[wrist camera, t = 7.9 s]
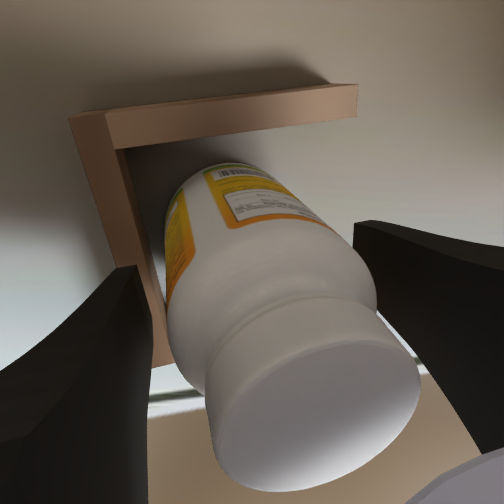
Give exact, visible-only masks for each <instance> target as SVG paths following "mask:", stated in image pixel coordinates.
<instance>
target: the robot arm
mask: <svg viewBox="0 0 504 504" xmlns="http://www.w3.org/2000/svg"><path fill="white" fill-rule="evenodd" d="M353 249H354V250H355V251H356V252H357V253H358V254H359V255H360V257H361V258H362V259H363V261H364V262H365V264H366V266H367V267H368V269H369V271H370V273H371V276H372V278H373V282H374V285H375V289H376V297H377V310H378V311H379V313H380V314H381V315H382V316H383V317H384V318H385V319H386V320H387V321H388V322H389V324H390V325H391V326H392V327H393V328H394V329H395V330H396V331H397V332H398V334H399V335H400V336H401V337H402V338H403V339H404V340H405V341H406V342H407V344H408V345H409V346H410V347H411V348H412V350H413V351H414V352H415V353H416V355H417V356H418V357H419V359H420V360H421V362H422V363H423V364H424V366H425V367H426V368H427V370H428V371H429V373H430V374H431V375H432V377H433V378H434V380H435V381H436V382H437V384H438V386H439V387H440V388H441V390H442V391H443V393H444V394H445V396H446V397H447V399H448V400H449V402H450V403H451V405H452V406H453V408H454V409H455V411H456V412H457V414H458V416H459V417H460V419H461V421H462V422H463V424H464V426H465V427H466V428H467V430H468V432H469V433H470V435H471V437H472V438H473V440H474V442H475V443H476V445H477V447H478V449H479V450H480V452H481V454H482V455H480V456H478V457H476V458H474V459H472V460H470V461H468V462H466V463H464V464H462V465H459V466H457V467H455V468H453V469H451V470H449V471H447V472H445V473H443V474H441V475H439V476H438V477H437V478H435V479H434V480H433V481H432V482H431V483H429V484H428V485H427V486H426V487H424V488H423V489H422V490H421V491H419V492H418V493H417V494H416V495H415V496H413V497H412V498H411V499H410V500H408V501H407V502H406V504H504V247H499V246H493V245H486V244H480V243H474V242H469V241H464V240H459V239H454V238H450V237H445V236H441V235H437V234H432V233H428V232H424V231H420V230H416V229H412V228H408V227H404V226H400V225H396V224H392V223H387V222H382V221H376V220H368V221H363V222H357V223H354V233H353ZM153 346H154V342H153V321H152V314H151V311H150V308H149V304H148V301H147V297H146V294H145V291H144V287H143V284H142V280H141V277H140V274H139V270H138V267H137V264H135V265H130V266H125V267H120V268H116V269H115V270H114V271H113V272H112V273H111V274H110V275H109V276H108V277H107V278H106V279H105V280H104V281H103V282H102V283H101V284H100V285H99V287H98V288H97V289H96V290H95V291H94V292H93V293H92V294H91V295H90V296H89V297H88V298H87V299H86V300H85V301H84V302H83V303H82V304H81V305H80V306H79V307H78V308H77V309H76V310H75V311H74V312H73V313H72V314H71V315H70V316H69V317H68V318H67V319H66V320H65V321H64V322H63V323H62V324H61V325H59V326H58V327H57V328H56V329H55V330H54V331H53V332H51V333H50V334H49V335H48V336H47V337H46V338H44V339H43V340H42V341H41V342H39V343H38V344H37V345H36V346H34V347H33V348H32V349H30V350H29V351H28V352H27V353H25V354H24V355H23V356H21V357H20V358H18V359H17V360H15V361H14V362H13V363H11V364H10V365H8V366H7V367H5V368H4V369H2V370H1V371H0V504H148V476H147V475H148V473H147V410H148V400H149V389H150V379H151V368H152V357H153Z"/></svg>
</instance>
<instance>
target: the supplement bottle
mask: <svg viewBox="0 0 504 504" xmlns="http://www.w3.org/2000/svg"><path fill="white" fill-rule="evenodd" d="M164 234H165V259H166V305H167V328H168V337H169V344H170V350H171V353H172V356H173V359H174V361H175V363H176V365H177V367H178V369H179V371H180V372H181V374H182V375H183V376H184V378H185V379H186V380H187V381H188V382H189V383H190V384H191V385H192V386H193V387H194V388H195V389H196V390H197V391H199V392H200V393H201V394H203V395H204V396H205V405H206V410H207V415H208V420H209V425H210V430H211V437H212V443H213V449H214V453H215V456H216V459H217V461H218V463H219V465H220V467H221V468H222V469H223V470H224V472H225V473H226V474H227V475H228V476H229V477H230V478H231V479H232V480H234V481H235V482H237V483H239V484H241V485H243V486H245V487H249V488H252V489H255V490H260V491H269V492H285V491H294V490H302V489H307V488H311V487H314V486H317V485H321V484H324V483H327V482H329V481H332V480H335V479H337V478H339V477H341V476H343V475H345V474H347V473H349V472H352V471H353V470H355V469H357V468H359V467H360V466H362V465H364V464H365V463H367V462H368V461H369V460H371V459H372V458H373V457H374V456H376V455H377V454H379V453H380V452H381V451H383V449H385V448H386V447H387V446H388V445H389V444H390V443H391V442H392V441H393V440H394V439H395V438H396V437H397V436H398V434H399V433H400V432H401V431H402V430H403V428H404V427H405V426H406V424H407V423H408V421H409V420H410V418H411V416H412V414H413V412H414V410H415V408H416V406H417V403H418V399H419V395H420V388H421V381H420V374H419V371H418V367H417V365H416V363H415V361H414V359H413V357H412V356H411V355H410V353H409V352H408V351H407V350H406V349H405V347H404V346H403V345H402V344H401V343H400V341H399V340H398V339H397V338H396V337H395V336H394V334H393V333H392V332H391V331H390V330H389V329H388V328H387V326H386V325H385V323H384V322H383V321H382V320H381V318H380V317H379V316H378V315H377V314H376V312H377V297H376V289H375V285H374V282H373V278H372V276H371V273H370V271H369V269H368V267H367V266H366V264H365V262H364V261H363V259H362V258H361V257H360V255H359V254H358V253H357V252H356V251H355V250H354V249H353V248H352V247H351V246H350V245H349V244H348V243H347V242H346V241H345V240H344V239H343V238H342V237H341V236H340V235H339V234H337V233H336V232H335V231H334V230H333V229H332V228H331V227H329V226H328V225H327V224H326V223H325V222H324V221H322V220H321V219H320V218H319V217H318V216H317V215H316V214H314V213H313V212H312V211H311V210H310V209H309V208H308V207H307V206H305V205H304V204H303V203H302V202H301V201H300V200H299V199H297V198H296V197H295V196H294V195H293V194H292V193H291V192H289V191H288V190H287V189H286V188H285V187H284V186H283V185H282V184H280V183H279V182H278V181H277V180H276V179H274V178H273V177H272V176H270V175H269V174H267V173H266V172H264V171H262V170H260V169H258V168H256V167H253V166H250V165H246V164H241V163H222V164H217V165H213V166H210V167H207V168H205V169H203V170H200V171H199V172H197V173H195V174H194V175H192V176H191V177H190V178H188V179H187V180H186V181H185V182H184V183H183V184H182V185H181V186H180V187H179V189H178V190H177V192H176V193H175V195H174V196H173V198H172V200H171V202H170V204H169V207H168V210H167V213H166V218H165V230H164Z"/></svg>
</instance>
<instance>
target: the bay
mask: <svg viewBox="0 0 504 504" xmlns="http://www.w3.org/2000/svg"><path fill="white" fill-rule="evenodd" d="M357 102H358V84H323V85H314V86H306V87H297V88H288V89H280V90H271V91H262V92H254V93H245V94H236V95H227V96H219V97H210V98H201V99H193V100H184V101H175V102H167V103H158V104H149V105H141V106H132V107H123V108H115V109H106V110H97V111H89V112H82V113H79V114H77V115H75V116H72V117H70V118H68V120H69V123H70V126H71V129H72V132H73V135H74V138H75V141H76V144H77V147H78V150H79V153H80V156H81V159H82V163H83V166H84V169H85V172H86V175H87V178H88V181H89V184H90V187H91V190H92V193H93V196H94V199H95V202H96V205H97V208H98V211H99V214H100V217H101V220H102V223H103V227H104V230H105V233H106V236H107V239H108V242H109V245H110V248H111V251H112V254H113V257H114V260H115V263H116V266H117V268H120V267H125V266H130V265H135V264H137V267H138V270H139V274H140V277H141V280H142V284H143V287H144V291H145V294H146V297H147V301H148V304H149V308H150V311H151V314H152V321H153V342H154V346H153V357H152V368H156V367H160V366H164V365H168V364H172V363H175V361H174V359H173V356H172V353H171V350H170V344H169V337H168V328H167V310H166V306H165V303H164V299H163V295H162V291H161V287H160V284H159V280H158V276H157V272H156V269H155V265H154V261H153V257H152V254H151V250H150V246H149V242H148V238H147V235H146V231H145V227H144V223H143V220H142V216H141V212H140V208H139V205H138V201H137V197H136V193H135V189H134V186H133V182H132V178H131V174H130V171H129V167H128V163H127V159H126V156H125V152H124V148H128V147H136V146H143V145H151V144H158V143H166V142H173V141H181V140H188V139H195V138H203V137H210V136H218V135H225V134H233V133H240V132H248V131H255V130H262V129H270V128H277V127H285V126H292V125H300V124H307V123H314V122H322V121H329V120H337V119H344V118H352V117H357ZM152 368H151V369H152Z"/></svg>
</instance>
